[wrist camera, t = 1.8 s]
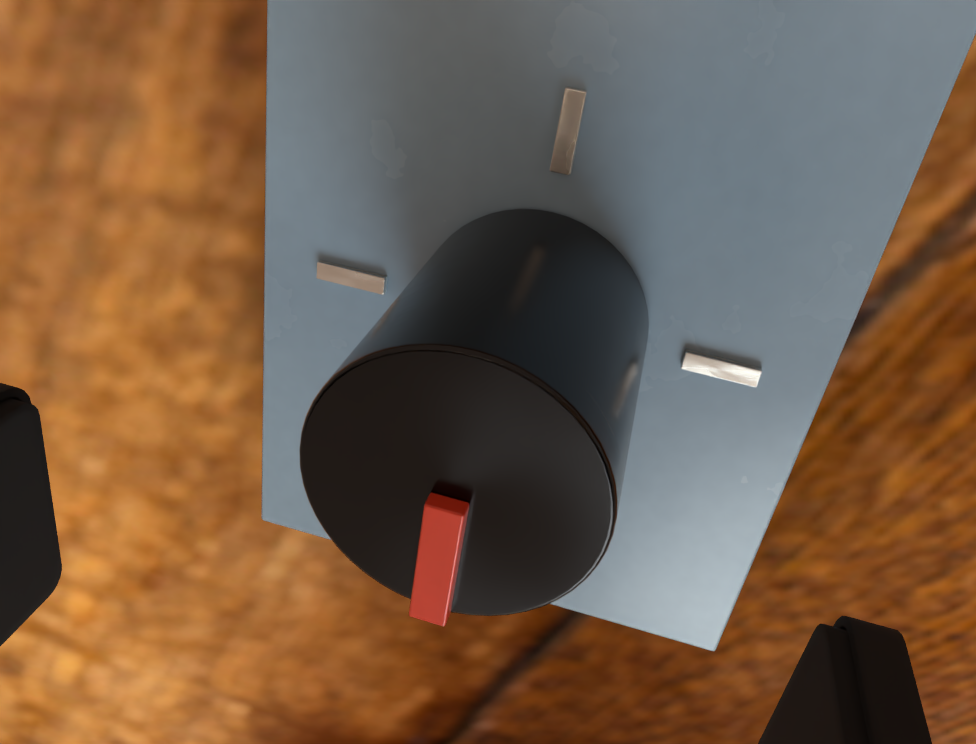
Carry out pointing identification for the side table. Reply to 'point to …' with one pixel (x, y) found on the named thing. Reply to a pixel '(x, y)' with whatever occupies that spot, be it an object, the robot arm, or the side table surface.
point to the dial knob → (485, 420)
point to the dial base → (610, 222)
